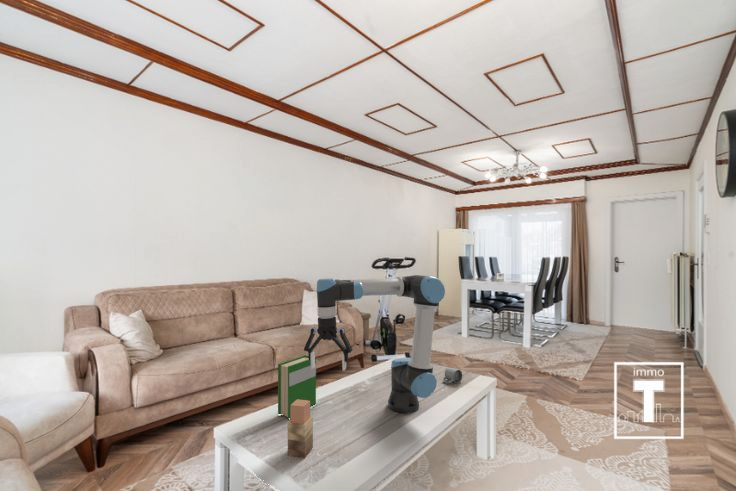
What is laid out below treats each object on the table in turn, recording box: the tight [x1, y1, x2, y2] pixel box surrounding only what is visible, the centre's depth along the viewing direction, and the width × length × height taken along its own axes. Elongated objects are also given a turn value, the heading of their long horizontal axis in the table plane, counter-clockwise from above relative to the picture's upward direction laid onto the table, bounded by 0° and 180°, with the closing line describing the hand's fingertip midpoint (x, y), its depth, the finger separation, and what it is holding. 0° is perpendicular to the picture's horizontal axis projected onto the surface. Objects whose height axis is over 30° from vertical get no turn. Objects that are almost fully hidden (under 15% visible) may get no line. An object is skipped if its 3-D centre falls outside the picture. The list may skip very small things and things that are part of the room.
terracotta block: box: [289, 399, 311, 424], centre depth 137 cm, size 6×6×6 cm
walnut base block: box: [287, 432, 314, 459], centre depth 136 cm, size 7×7×6 cm
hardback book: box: [277, 354, 317, 419], centre depth 172 cm, size 18×7×24 cm, turn 146°
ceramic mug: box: [442, 367, 463, 385], centre depth 210 cm, size 11×8×8 cm
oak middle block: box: [287, 416, 314, 442], centre depth 137 cm, size 7×7×6 cm
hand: (328, 368), depth 147 cm, fingers open, 13 cm apart
